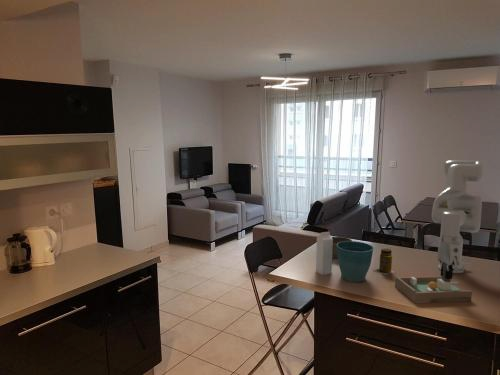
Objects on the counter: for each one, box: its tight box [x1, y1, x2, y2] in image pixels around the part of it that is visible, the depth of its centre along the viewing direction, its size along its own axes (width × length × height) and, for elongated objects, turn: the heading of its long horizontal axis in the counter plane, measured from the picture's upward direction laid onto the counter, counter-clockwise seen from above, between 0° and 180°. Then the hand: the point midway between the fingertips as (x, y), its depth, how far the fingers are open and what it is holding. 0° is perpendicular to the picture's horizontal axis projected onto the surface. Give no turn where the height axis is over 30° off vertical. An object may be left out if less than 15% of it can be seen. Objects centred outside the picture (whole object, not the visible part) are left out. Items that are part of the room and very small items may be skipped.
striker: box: [437, 262, 460, 291], centre depth 167 cm, size 9×5×13 cm, turn 95°
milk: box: [315, 231, 333, 276], centre depth 192 cm, size 6×6×22 cm
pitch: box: [394, 275, 473, 304], centre depth 167 cm, size 26×18×5 cm
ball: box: [428, 281, 437, 290], centre depth 167 cm, size 4×4×4 cm
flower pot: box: [337, 240, 375, 283], centre depth 184 cm, size 18×18×17 cm
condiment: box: [373, 248, 395, 276], centre depth 194 cm, size 7×8×12 cm
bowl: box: [331, 236, 353, 259], centre depth 221 cm, size 17×18×10 cm
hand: (446, 277), depth 167 cm, fingers closed on striker, 2 cm apart
